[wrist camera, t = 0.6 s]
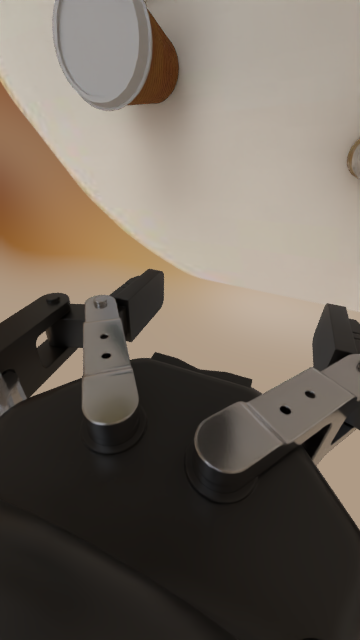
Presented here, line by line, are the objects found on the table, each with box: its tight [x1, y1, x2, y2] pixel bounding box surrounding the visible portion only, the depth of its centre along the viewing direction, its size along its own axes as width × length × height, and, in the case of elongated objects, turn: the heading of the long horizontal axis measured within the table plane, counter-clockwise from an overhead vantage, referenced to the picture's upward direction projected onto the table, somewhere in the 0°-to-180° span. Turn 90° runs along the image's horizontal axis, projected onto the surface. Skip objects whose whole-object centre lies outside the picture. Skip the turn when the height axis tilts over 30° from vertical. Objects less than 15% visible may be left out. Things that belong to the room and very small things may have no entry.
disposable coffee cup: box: [53, 0, 179, 111], centre depth 28 cm, size 10×10×12 cm
